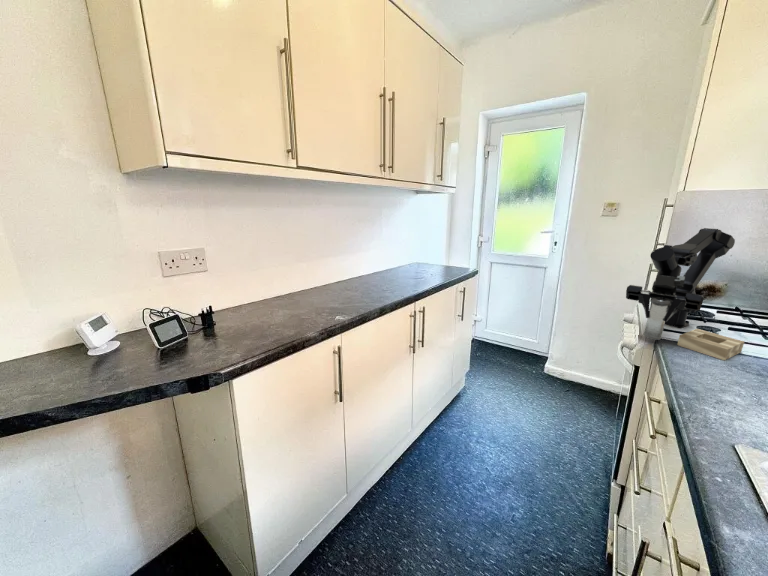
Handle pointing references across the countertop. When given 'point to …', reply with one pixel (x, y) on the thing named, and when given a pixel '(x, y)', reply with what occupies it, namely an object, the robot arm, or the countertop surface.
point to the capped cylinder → (656, 317)
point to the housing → (710, 344)
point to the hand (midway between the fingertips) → (656, 319)
